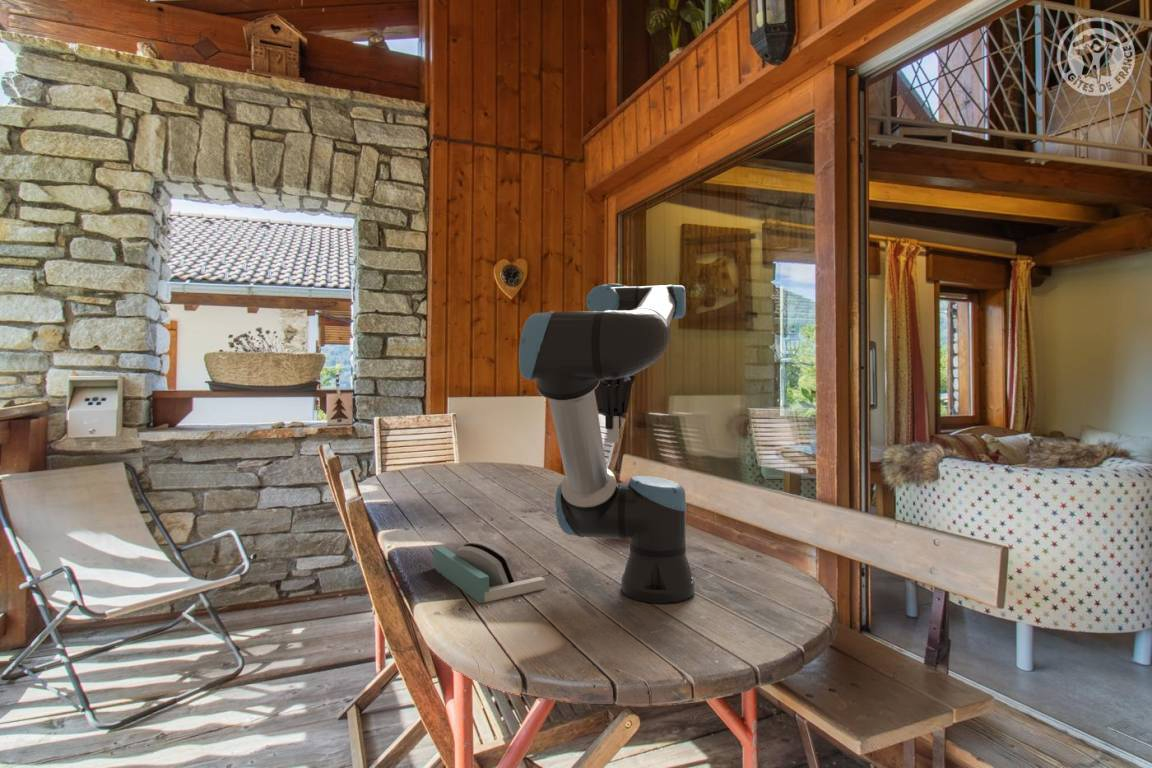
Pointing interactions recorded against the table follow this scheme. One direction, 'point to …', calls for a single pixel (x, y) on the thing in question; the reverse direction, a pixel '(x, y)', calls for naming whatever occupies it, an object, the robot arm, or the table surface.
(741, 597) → the table surface
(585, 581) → the table surface
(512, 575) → the grey half-round casing
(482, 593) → the guide bay
